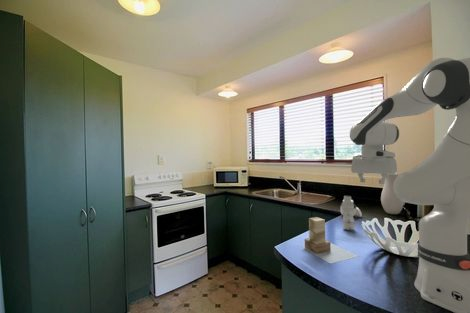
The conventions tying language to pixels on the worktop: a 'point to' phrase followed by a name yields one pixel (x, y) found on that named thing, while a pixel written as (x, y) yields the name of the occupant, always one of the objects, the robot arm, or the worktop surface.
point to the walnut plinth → (317, 246)
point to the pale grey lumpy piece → (355, 211)
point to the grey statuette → (348, 213)
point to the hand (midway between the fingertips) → (371, 183)
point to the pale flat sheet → (334, 254)
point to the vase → (391, 196)
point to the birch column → (317, 229)
